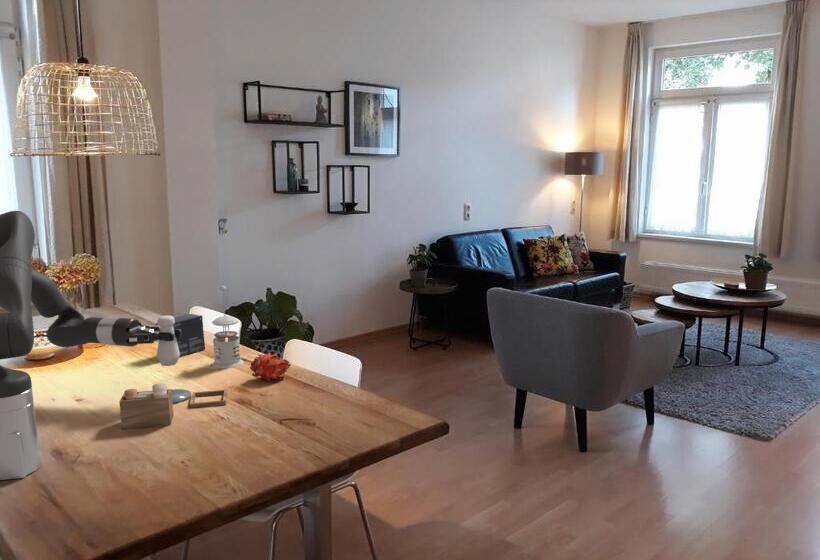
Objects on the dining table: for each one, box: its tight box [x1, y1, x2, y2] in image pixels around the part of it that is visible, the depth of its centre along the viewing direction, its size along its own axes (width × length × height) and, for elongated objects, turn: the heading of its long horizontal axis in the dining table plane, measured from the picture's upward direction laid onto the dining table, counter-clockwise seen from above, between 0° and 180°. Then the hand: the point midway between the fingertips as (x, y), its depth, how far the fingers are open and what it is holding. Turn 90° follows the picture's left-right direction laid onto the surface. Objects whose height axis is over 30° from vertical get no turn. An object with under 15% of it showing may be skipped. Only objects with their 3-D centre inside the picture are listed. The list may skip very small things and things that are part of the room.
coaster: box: [172, 388, 192, 405], centre depth 177 cm, size 10×10×1 cm
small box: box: [173, 313, 206, 358], centre depth 217 cm, size 13×7×12 cm, turn 146°
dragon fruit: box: [249, 352, 292, 382], centre depth 191 cm, size 8×8×12 cm
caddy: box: [119, 382, 174, 430], centre depth 160 cm, size 6×11×9 cm, turn 103°
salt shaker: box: [156, 314, 180, 367], centre depth 174 cm, size 6×6×13 cm
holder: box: [189, 389, 228, 409], centre depth 175 cm, size 9×9×1 cm
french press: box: [211, 285, 244, 369], centre depth 205 cm, size 10×12×25 cm
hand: (176, 335), depth 173 cm, fingers closed on salt shaker, 3 cm apart
